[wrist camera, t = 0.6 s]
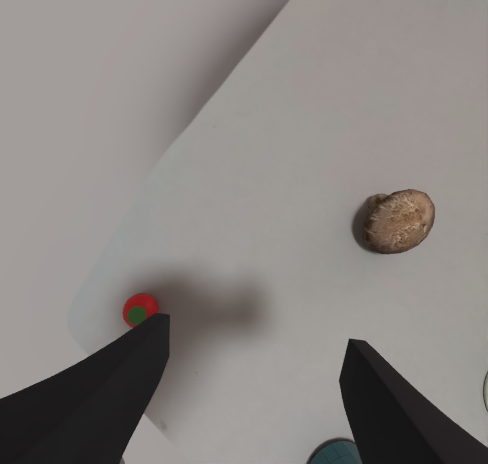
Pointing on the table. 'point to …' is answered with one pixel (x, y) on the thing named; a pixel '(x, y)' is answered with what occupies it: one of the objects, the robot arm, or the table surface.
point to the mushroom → (398, 221)
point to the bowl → (338, 454)
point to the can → (486, 391)
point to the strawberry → (139, 309)
